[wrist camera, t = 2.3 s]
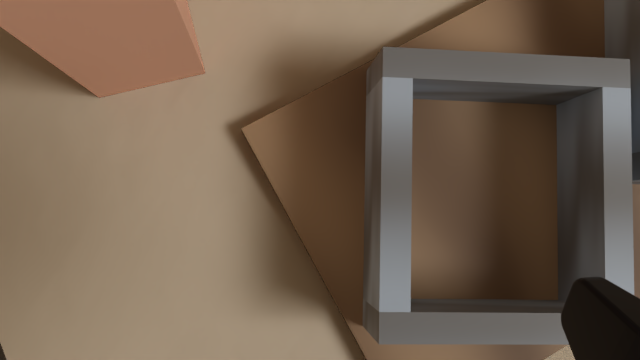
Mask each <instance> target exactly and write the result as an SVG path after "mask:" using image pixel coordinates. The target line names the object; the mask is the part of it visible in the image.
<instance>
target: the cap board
mask: <svg viewBox="0 0 640 360" xmlns="http://www.w3.org/2000/svg"><path fill="white" fill-rule="evenodd" d="M241 130H242V132H243V134H244V136H245V138H246V139H247V141H248V143H249V145H250V147H251V149H252V150H253V152H254V154H255V156H256V158H257V160H258V161H259V163H260V165H261V167H262V169H263V171H264V172H265V174H266V176H267V178H268V180H269V182H270V184H271V185H272V187H273V189H274V191H275V193H276V195H277V196H278V198H279V200H280V202H281V204H282V206H283V207H284V209H285V211H286V213H287V215H288V217H289V218H290V220H291V222H292V224H293V226H294V228H295V229H296V231H297V233H298V235H299V237H300V239H301V240H302V242H303V244H304V246H305V248H306V250H307V251H308V253H309V255H310V257H311V259H312V261H313V262H314V264H315V266H316V268H317V270H318V272H319V274H320V275H321V277H322V279H323V281H324V283H325V285H326V286H327V288H328V290H329V292H330V294H331V296H332V297H333V299H334V301H335V303H336V305H337V307H338V308H339V310H340V312H341V314H342V316H343V318H344V319H345V321H346V323H347V325H348V327H349V329H350V330H351V332H352V334H353V336H354V338H355V340H356V341H357V343H358V345H359V347H360V349H361V351H362V352H363V354H364V356H365V358H366V360H544V359H545V358H547V357H549V356H550V355H552V354H553V353H555V352H557V351H558V350H560V349H561V348H563V347H565V346H566V345H569V343H568V340H567V338H566V335H565V333H564V330H563V328H562V324H561V312H562V309H563V306H564V304H565V301H566V299H567V296H568V294H569V291H570V289H571V286H572V284H573V282H574V281H575V280H576V279H578V278H584V277H602V278H605V279H607V280H608V281H610V282H612V283H614V284H615V285H617V286H619V287H620V288H622V289H624V290H626V291H627V292H629V293H631V294H633V295H634V296H636V297H638V298H639V299H640V0H486V1H485V2H483V3H481V4H479V5H477V6H475V7H473V8H471V9H469V10H467V11H465V12H463V13H462V14H460V15H458V16H456V17H454V18H452V19H450V20H448V21H446V22H444V23H442V24H440V25H439V26H437V27H435V28H433V29H431V30H429V31H427V32H425V33H423V34H421V35H419V36H417V37H416V38H414V39H412V40H410V41H408V42H406V43H404V44H402V45H400V46H398V47H382V49H381V50H380V52H379V53H378V55H377V56H376V58H375V59H373V60H371V61H370V62H368V63H366V64H364V65H362V66H360V67H358V68H356V69H354V70H352V71H350V72H348V73H347V74H345V75H343V76H341V77H339V78H337V79H335V80H333V81H331V82H329V83H327V84H325V85H324V86H322V87H320V88H318V89H316V90H314V91H312V92H310V93H308V94H306V95H304V96H302V97H301V98H299V99H297V100H295V101H293V102H291V103H289V104H287V105H285V106H283V107H281V108H279V109H278V110H276V111H274V112H272V113H270V114H268V115H266V116H264V117H262V118H260V119H258V120H256V121H255V122H253V123H251V124H249V125H247V126H245V127H243V128H241Z"/></svg>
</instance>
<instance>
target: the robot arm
mask: <svg viewBox="0 0 640 360" xmlns="http://www.w3.org/2000/svg"><path fill="white" fill-rule="evenodd" d="M561 324H562V328H563V330H564V333H565V335H566V338H567V340H568V343H569V345H570V348H571V350H572V353H573V355H574V357H575V360H640V299H639V298H638V297H636V296H634V295H633V294H631V293H629V292H627V291H626V290H624V289H622V288H620V287H619V286H617V285H615V284H614V283H612V282H610V281H608V280H607V279H605V278H602V277H584V278H578V279H576V280H575V281H574V282H573V284H572V286H571V289H570V291H569V294H568V296H567V299H566V301H565V304H564V306H563V309H562V312H561ZM0 360H6V357H5V354H4V352H3V349H2V346H1V344H0Z"/></svg>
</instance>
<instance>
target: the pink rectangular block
mask: <svg viewBox="0 0 640 360" xmlns="http://www.w3.org/2000/svg"><path fill="white" fill-rule="evenodd" d="M0 27H2V28H3V29H4V30H6V31H7V32H9V33H10V34H11V35H13V36H14V37H16V38H17V39H18V40H20V41H21V42H22V43H24V44H25V45H27V46H28V47H29V48H31V49H32V50H34V51H35V52H36V53H38V54H39V55H41V56H42V57H43V58H45V59H46V60H48V61H49V62H50V63H52V64H53V65H54V66H56V67H57V68H59V69H60V70H61V71H63V72H64V73H66V74H67V75H68V76H70V77H71V78H73V79H74V80H75V81H77V82H78V83H80V84H81V85H82V86H84V87H85V88H86V89H88V90H89V91H91V92H92V93H93V94H95V95H96V96H98V97H99V98H100V97H105V96H109V95H113V94H118V93H122V92H126V91H131V90H135V89H139V88H144V87H148V86H152V85H157V84H161V83H165V82H170V81H174V80H178V79H183V78H187V77H191V76H196V75H200V74H204V73H205V69H204V65H203V62H202V58H201V54H200V50H199V46H198V42H197V38H196V34H195V30H194V26H193V23H192V19H191V15H190V11H189V7H188V3H187V0H0Z"/></svg>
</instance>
